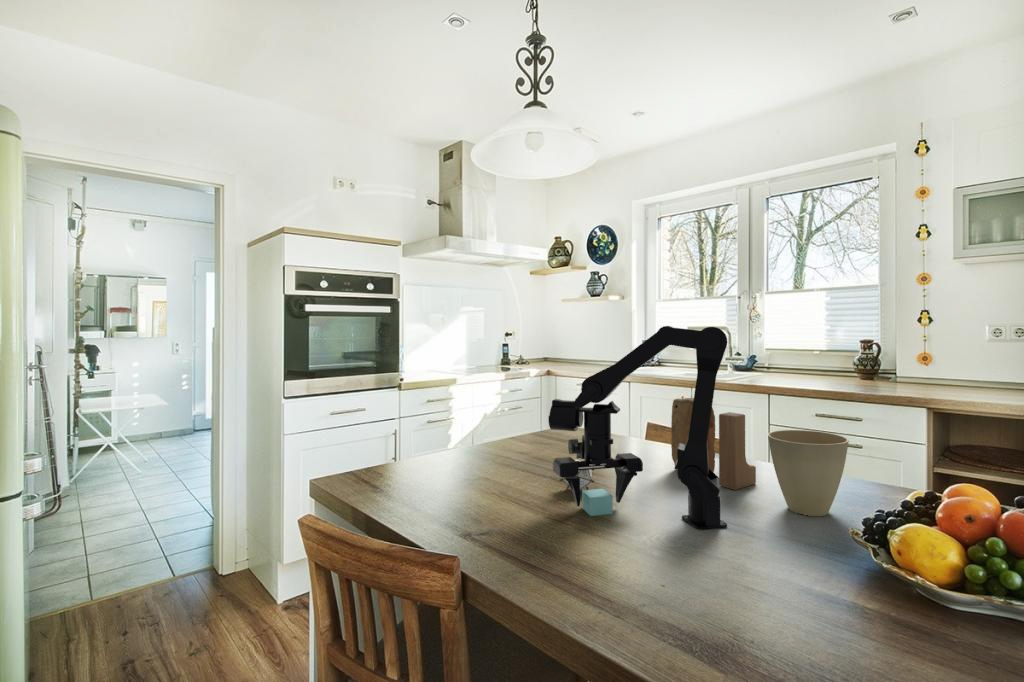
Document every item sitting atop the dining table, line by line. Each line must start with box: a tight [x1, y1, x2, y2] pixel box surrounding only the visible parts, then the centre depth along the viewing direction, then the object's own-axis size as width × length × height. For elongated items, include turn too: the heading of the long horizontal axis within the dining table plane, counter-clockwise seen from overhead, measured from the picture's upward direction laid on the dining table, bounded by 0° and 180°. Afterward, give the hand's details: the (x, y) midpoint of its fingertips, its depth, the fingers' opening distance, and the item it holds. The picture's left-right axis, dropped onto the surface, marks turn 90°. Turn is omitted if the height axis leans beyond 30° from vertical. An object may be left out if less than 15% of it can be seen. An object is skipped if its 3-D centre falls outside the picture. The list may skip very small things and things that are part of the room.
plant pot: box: [767, 429, 849, 517], centre depth 109 cm, size 15×15×16 cm
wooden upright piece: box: [670, 397, 716, 473], centre depth 139 cm, size 11×8×20 cm
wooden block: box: [718, 411, 757, 491], centre depth 127 cm, size 9×4×18 cm, turn 123°
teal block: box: [581, 488, 614, 517], centre depth 111 cm, size 5×5×4 cm
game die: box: [558, 456, 595, 491], centre depth 124 cm, size 9×8×10 cm
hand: (598, 504), depth 111 cm, fingers open, 9 cm apart
